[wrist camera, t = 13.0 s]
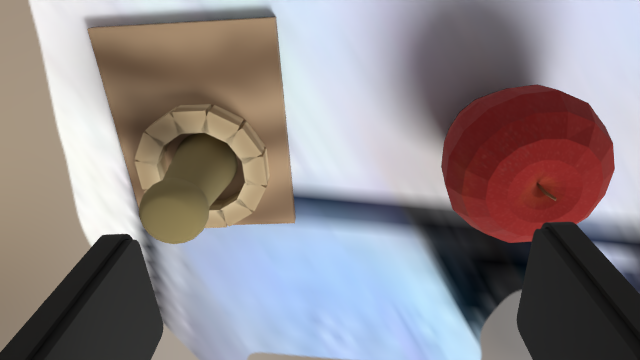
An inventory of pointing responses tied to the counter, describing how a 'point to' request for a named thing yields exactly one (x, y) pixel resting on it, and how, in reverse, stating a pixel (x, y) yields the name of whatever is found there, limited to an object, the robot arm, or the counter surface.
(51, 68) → the counter surface
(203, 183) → the cork
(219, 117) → the beech ring
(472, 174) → the apple
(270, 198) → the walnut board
